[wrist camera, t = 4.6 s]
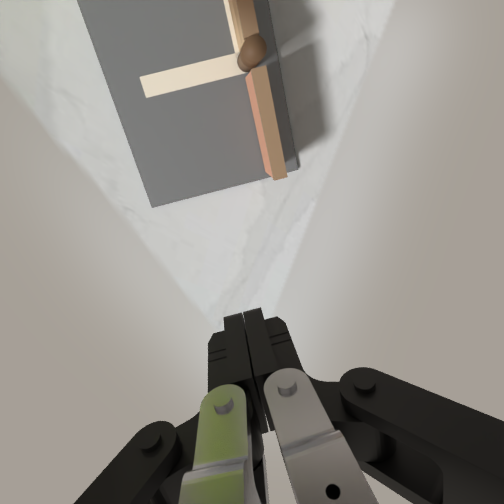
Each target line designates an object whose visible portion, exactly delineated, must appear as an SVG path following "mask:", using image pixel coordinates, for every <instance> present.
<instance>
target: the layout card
mask: <svg viewBox="0 0 504 504" xmlns="http://www.w3.org/2000/svg"><path fill="white" fill-rule="evenodd" d="M77 2H78V4H79V7H80V10H81V13H82V16H83V18H84V21H85V24H86V27H87V29H88V32H89V35H90V38H91V40H92V43H93V46H94V49H95V52H96V54H97V57H98V60H99V63H100V65H101V68H102V71H103V74H104V76H105V79H106V82H107V85H108V87H109V90H110V93H111V96H112V99H113V101H114V104H115V107H116V110H117V112H118V115H119V118H120V121H121V123H122V126H123V129H124V132H125V135H126V137H127V140H128V143H129V146H130V148H131V151H132V154H133V157H134V159H135V162H136V165H137V168H138V170H139V173H140V176H141V179H142V182H143V184H144V187H145V190H146V193H147V195H148V198H149V201H150V204H151V206H152V208H153V207H157V206H161V205H165V204H169V203H172V202H176V201H180V200H184V199H188V198H192V197H195V196H199V195H203V194H207V193H211V192H215V191H218V190H222V189H226V188H230V187H234V186H238V185H241V184H245V183H249V182H253V181H257V180H261V179H264V178H268V177H271V176H270V175H269V174H267V173H266V172H265V168H264V163H263V158H262V154H261V149H260V144H259V140H258V135H257V130H256V126H255V121H254V117H253V112H252V107H251V103H250V98H249V93H248V89H247V84H246V79H245V77H246V76H247V75H248V74H249V72H243V71H241V70H240V68H239V67H238V64H237V59H238V56H239V54H240V52H239V48H238V44H237V39H236V35H235V30H234V25H233V21H232V16H231V11H230V7H229V2H228V0H77ZM253 3H254V9H255V14H256V19H257V24H258V29H259V36H261V37H262V38H263V39H264V40H265V42H266V45H267V51H266V54H265V56H264V57H263V59H262V60H261V61H260V62H259V63H258V65H257V66H256V67H255V68H257V67H261V66H265V65H266V67H267V73H268V78H269V83H270V88H271V93H272V99H273V104H274V109H275V114H276V120H277V125H278V130H279V135H280V141H281V146H282V151H283V156H284V161H285V167H286V172H291V171H295V170H298V167H297V162H296V156H295V150H294V145H293V139H292V133H291V128H290V122H289V116H288V111H287V105H286V100H285V94H284V88H283V83H282V77H281V71H280V66H279V60H278V54H277V49H276V43H275V38H274V32H273V26H272V21H271V15H270V9H269V4H268V0H253Z"/></svg>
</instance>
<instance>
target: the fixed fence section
mask: <svg viewBox="0 0 504 504" xmlns="http://www.w3.org/2000/svg"><path fill="white" fill-rule="evenodd" d="M228 2H229V7H230V11H231V16H232V21H233V25H234V30H235V35H236V39H237V44H238V48H239V52H240V54H239V56H238V59H237V64H238V67H239V68H240V70H241V71H243V72H250V71H251V69H253V68H255V67H256V66H257V65H258V63H259V62H260V61H261V60H262V59H263V57H264V56H265V54H266V51H267V45H266V42H265V40H264V39H263V38H262V37H261V36H259V29H258V24H257V19H256V14H255V9H254V3H253V0H228Z"/></svg>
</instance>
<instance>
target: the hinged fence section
mask: <svg viewBox="0 0 504 504" xmlns="http://www.w3.org/2000/svg"><path fill="white" fill-rule="evenodd" d="M245 79H246V84H247V89H248V93H249V98H250V103H251V107H252V112H253V117H254V121H255V126H256V130H257V135H258V140H259V144H260V149H261V154H262V158H263V163H264V168H265V172H266V173H267V174H269V175H270V176H271V177H272V178H273V180H278V179H282V178H286V177H287V172H286V167H285V161H284V156H283V151H282V146H281V141H280V135H279V130H278V125H277V120H276V114H275V109H274V104H273V99H272V93H271V88H270V83H269V78H268V73H267V67H266V65H265V66H261V67H257V68H253V69H251V71H250V72H249V74H248V75H247V76H246V77H245Z"/></svg>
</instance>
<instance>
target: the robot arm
mask: <svg viewBox="0 0 504 504" xmlns="http://www.w3.org/2000/svg"><path fill="white" fill-rule="evenodd" d="M243 315H244V318H243ZM243 315H242V313H238V314H234V315H231V316H227V317H224V330H225V331H221V332H217V333H214V334H213V335H212V337H211V339H210V341H209V343H208V394H207V395H206V396H205V397H204V399H203V401H202V403H201V406H200V411H199V412H198V414H196V415H195V416H194V417H193V418H191V419H190V420H188V421H186V422H185V423H183V424H181V425H179V426H178V427H176V428H175V427H174V426H173V425H172V424H171V423H169V422H166V421H157V422H153V423H151V424H149V425H147V426H145V427H144V428H142V429H141V430H140V431H138V432H137V433H136V434H135V436H134V437H133V438H132V439H131V440H130V441H129V442H128V443H127V444H126V446H125V447H124V448H123V449H122V450H121V451H120V452H119V453H118V455H117V456H116V457H115V458H114V459H113V460H112V461H111V462H110V464H109V465H108V466H107V467H106V468H105V469H104V470H103V471H102V473H101V474H100V475H99V476H98V477H97V478H96V479H95V480H94V481H93V483H92V484H91V485H90V486H89V487H88V488H87V489H86V491H84V493H83V494H82V495H81V496H80V497H79V498H78V500H76V502H75V503H74V504H269V494H268V483H267V472H266V460H265V455H264V446H263V439H262V434H263V433H267V432H268V426H267V421H268V424H269V428H270V431H274V430H275V432H276V435H277V438H278V442H279V446H280V449H281V453H282V456H283V460H284V463H285V466H286V470H287V473H288V476H289V479H290V483H291V486H292V489H293V493H294V495H295V499H296V502H297V504H379V503H378V501H377V499H376V497H375V495H374V494H373V492H372V490H371V488H370V486H369V484H368V482H367V481H366V478H365V476H364V474H363V472H362V471H364V472H365V473H367V474H368V475H370V476H371V477H373V478H374V479H376V480H377V481H379V482H381V483H382V484H384V485H385V486H387V487H388V488H390V489H391V490H393V491H394V492H396V493H397V494H399V495H400V496H402V497H404V498H405V499H407V500H408V501H410V502H412V503H413V504H504V421H502V420H499V419H497V418H494V417H492V416H489V415H487V414H484V413H481V412H479V411H477V410H474V409H472V408H469V407H467V406H465V405H462V404H459V403H457V402H454V401H452V400H450V399H447V398H444V397H442V396H440V395H437V394H435V393H432V392H429V391H427V390H425V389H422V388H420V387H417V386H415V385H412V384H410V383H408V382H405V381H402V380H400V379H397V378H395V377H393V376H390V375H388V374H385V373H383V372H380V371H378V370H375V369H372V368H366V367H361V368H355V369H351V370H349V371H348V372H346V373H345V374H344V375H343V376H342V377H341V379H340V381H339V382H324V381H318V380H316V379H313V378H311V377H310V376H308V375H307V374H306V373H305V371H304V370H303V368H302V366H301V363H300V360H299V358H298V355H297V352H296V350H295V347H294V344H293V342H292V339H291V336H290V334H289V331H288V329H287V326H286V323H285V322H284V321H283V320H281V319H280V318H278V317H273V318H269V319H266V320H264V317H263V313H262V310H261V307H260V308H257V309H253V310H249V311H245V312H243ZM244 320H245V322H244ZM265 414H266V416H265ZM266 417H267V421H266ZM361 470H362V471H361Z"/></svg>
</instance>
